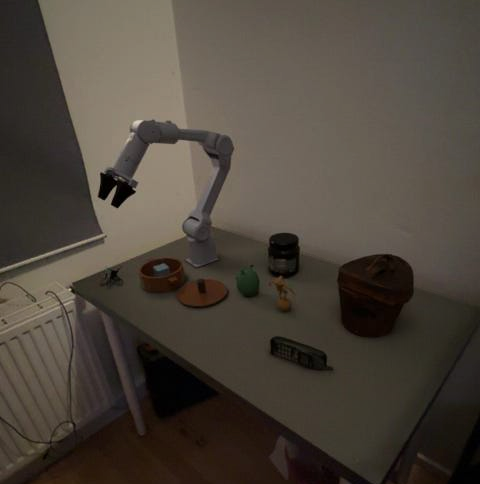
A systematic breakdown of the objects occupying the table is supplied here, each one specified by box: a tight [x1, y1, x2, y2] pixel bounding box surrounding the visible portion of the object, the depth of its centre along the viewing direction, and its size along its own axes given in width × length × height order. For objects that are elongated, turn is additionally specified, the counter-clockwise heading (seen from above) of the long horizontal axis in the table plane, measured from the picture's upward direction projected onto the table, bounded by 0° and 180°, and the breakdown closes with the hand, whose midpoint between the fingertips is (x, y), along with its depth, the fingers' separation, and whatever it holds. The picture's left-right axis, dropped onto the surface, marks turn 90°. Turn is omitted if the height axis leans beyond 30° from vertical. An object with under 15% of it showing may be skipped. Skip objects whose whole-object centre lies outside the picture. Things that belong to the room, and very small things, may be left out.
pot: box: [138, 256, 186, 294], centre depth 116 cm, size 14×20×6 cm
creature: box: [100, 265, 124, 287], centre depth 118 cm, size 8×5×8 cm
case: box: [336, 253, 415, 338], centre depth 87 cm, size 18×20×18 cm
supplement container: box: [267, 232, 301, 278], centre depth 115 cm, size 10×10×12 cm
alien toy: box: [235, 263, 261, 297], centre depth 105 cm, size 7×8×10 cm
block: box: [153, 263, 170, 277], centre depth 116 cm, size 4×4×5 cm
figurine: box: [268, 276, 296, 312], centre depth 95 cm, size 8×6×12 cm
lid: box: [177, 278, 228, 308], centre depth 108 cm, size 15×15×5 cm
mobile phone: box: [269, 335, 334, 371], centre depth 80 cm, size 5×3×15 cm
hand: (107, 202), depth 100 cm, fingers open, 7 cm apart
